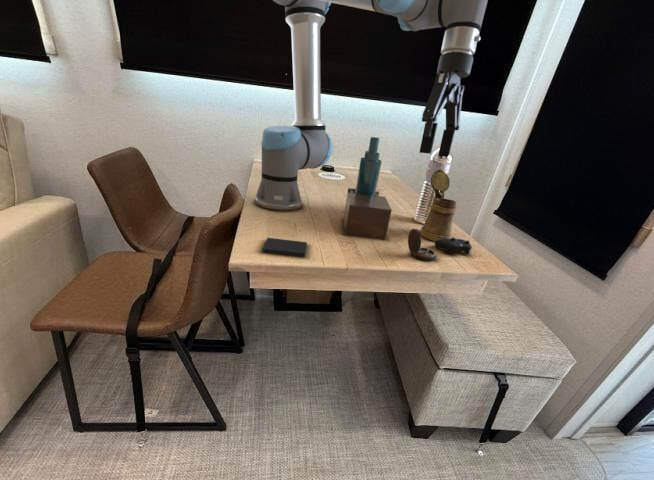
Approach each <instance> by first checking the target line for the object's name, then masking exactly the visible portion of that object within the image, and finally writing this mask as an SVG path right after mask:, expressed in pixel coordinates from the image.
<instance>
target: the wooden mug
mask: <svg viewBox="0 0 654 480" xmlns="http://www.w3.org/2000/svg"><path fill="white" fill-rule="evenodd" d="M450 181H451V180H450V177H449V174H448V175H447V174H446V173H445V172H444V171H442V170H441V169H440V170H438V171H436V172H435V173H434V174H433V175H432V178H431V185H432V188H433V189H434V191H435V196H434V199H433V202H432V205H431V206H430V208H431V209H430V212H429V214H428V217H427V219H426V221H425V224H423V226H421V229H420V230H419V233H420V236H421V237H423V238H425V239H426V240H430V241H433V242H435V241H437V240H440V239H452V234H451V233H452V228H453V222H454V217H455V213H456V212H457V201H456V200H453V199H449V198H445V192H447V191H448V189H449V188H450Z"/></svg>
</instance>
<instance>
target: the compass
mask: <svg viewBox="0 0 654 480" xmlns="http://www.w3.org/2000/svg"><path fill="white" fill-rule="evenodd" d="M421 245H422V236H421V234H420V230H419V228H412V229H410V231H409V233H408V236H407V246H408V249H409V252H410V253H412V256H414V257H415V258H417V259H419V260H423V261H430V262H431V261H434V260H436V259H437V254H436V252H435V251H434V250H433V249H431V248H427V247H422V246H421Z"/></svg>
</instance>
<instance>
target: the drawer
mask: <svg viewBox="0 0 654 480" xmlns="http://www.w3.org/2000/svg"><path fill="white" fill-rule="evenodd" d="M355 190H356V188H354V187H348V188H347V192H346V196H347V195H348V192H349V193H355ZM375 196H380V191H379V190H378V191H377V190H376V193H375ZM346 202H347V198H346V200H345V203H346ZM345 208H346V204H345V207H344V209H345Z"/></svg>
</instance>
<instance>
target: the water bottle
mask: <svg viewBox="0 0 654 480" xmlns="http://www.w3.org/2000/svg"><path fill="white" fill-rule="evenodd" d="M439 150H440V147H438V148H436V149H435V150H434V151H432V152H431V154H430V155H429V161H428V164H427V167H426V171H425V175H424V179H423V181H422V185H421V189H420V193H419V197H418V201H417V203H416V208H415V211H414V215H413V220H414V221H415V222H416V223H418V224H422V225H424V224H425V221H426V219H427V217H428V214H429V212H430V209H431V208H430V206H431V205H432V202H433V199H434V196H435V191H434V189H433V188H432V185H431V178H432V175H433V174H434V173H435V172H436V171H438V170H440V169H441V170H442V171H444V172H445V173H446V174H447V175H448V176H449V171H450V168H451V166H452V165H451V164H453V163H452V162H453V158H454V157H453V155H452V152H451V151H450V154H449V157H443V156H438V154H439Z"/></svg>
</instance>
